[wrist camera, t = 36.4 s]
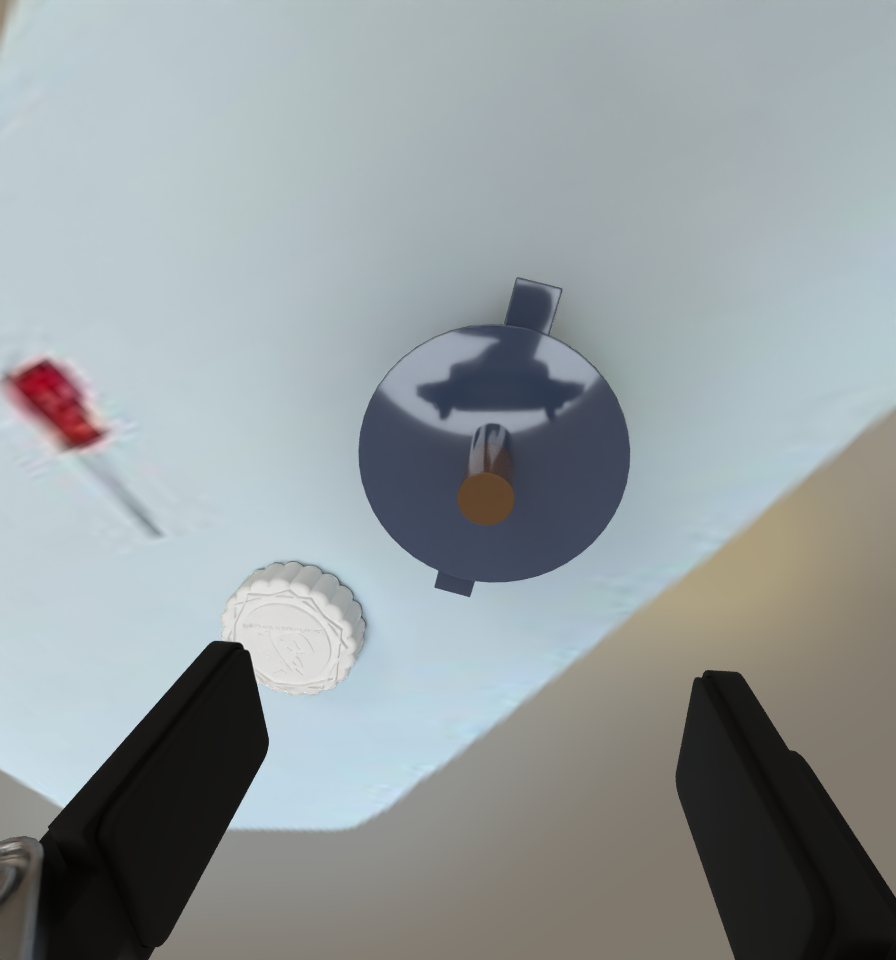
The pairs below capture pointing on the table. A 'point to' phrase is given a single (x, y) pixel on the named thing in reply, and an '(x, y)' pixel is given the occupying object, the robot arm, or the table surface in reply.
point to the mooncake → (295, 627)
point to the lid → (494, 453)
